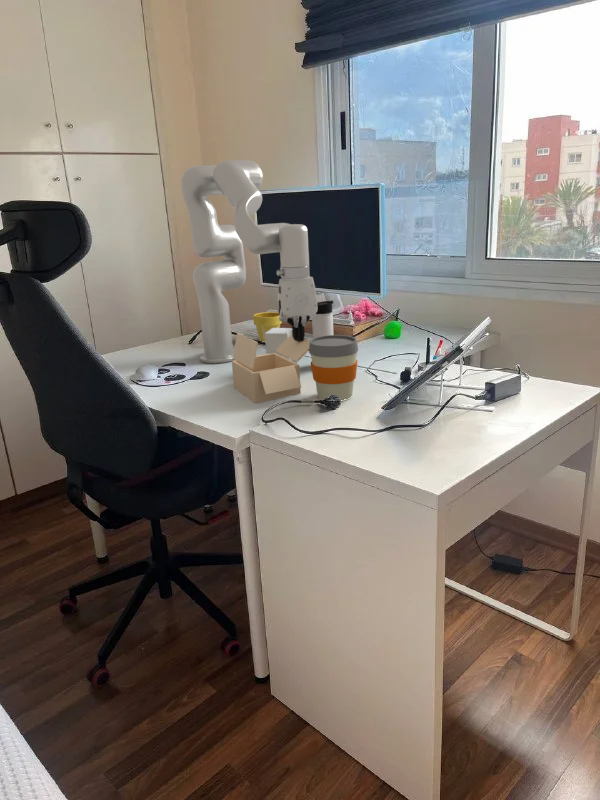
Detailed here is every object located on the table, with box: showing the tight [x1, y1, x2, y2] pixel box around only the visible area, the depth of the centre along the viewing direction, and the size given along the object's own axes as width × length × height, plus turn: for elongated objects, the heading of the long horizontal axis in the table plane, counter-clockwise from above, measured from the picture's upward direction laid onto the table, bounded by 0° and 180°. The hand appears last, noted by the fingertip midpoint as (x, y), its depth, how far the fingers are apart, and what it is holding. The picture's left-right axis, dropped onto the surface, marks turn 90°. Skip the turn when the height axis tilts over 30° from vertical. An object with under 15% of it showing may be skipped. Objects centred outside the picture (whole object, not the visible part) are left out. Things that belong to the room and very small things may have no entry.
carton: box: [231, 353, 302, 404], centre depth 164 cm, size 23×13×8 cm, turn 27°
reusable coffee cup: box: [308, 334, 359, 401], centre depth 156 cm, size 13×13×15 cm
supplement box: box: [264, 327, 298, 364], centre depth 181 cm, size 7×7×13 cm
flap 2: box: [276, 334, 311, 363], centre depth 166 cm, size 14×7×1 cm
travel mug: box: [311, 300, 334, 339], centre depth 183 cm, size 6×7×20 cm
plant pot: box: [252, 311, 283, 341], centre depth 220 cm, size 10×10×10 cm
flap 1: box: [233, 332, 259, 369], centre depth 159 cm, size 14×7×1 cm
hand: (298, 340), depth 166 cm, fingers closed
